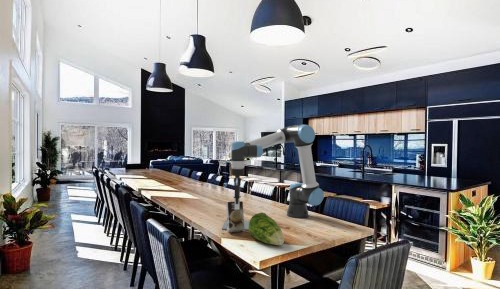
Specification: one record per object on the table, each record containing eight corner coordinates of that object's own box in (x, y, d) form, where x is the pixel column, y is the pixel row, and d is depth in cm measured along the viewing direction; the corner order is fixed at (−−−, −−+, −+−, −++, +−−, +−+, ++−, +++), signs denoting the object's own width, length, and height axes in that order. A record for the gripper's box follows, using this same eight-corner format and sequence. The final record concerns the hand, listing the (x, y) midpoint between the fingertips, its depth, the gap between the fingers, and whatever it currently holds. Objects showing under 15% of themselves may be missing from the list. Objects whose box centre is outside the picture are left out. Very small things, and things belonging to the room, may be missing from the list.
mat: (253, 222, 194) (253, 221, 194) (252, 230, 176) (252, 229, 176) (225, 221, 194) (225, 220, 194) (221, 229, 176) (221, 228, 176)
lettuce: (270, 258, 146) (271, 234, 142) (244, 236, 164) (244, 214, 161) (292, 249, 153) (293, 226, 150) (264, 228, 172) (265, 207, 169)
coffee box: (229, 230, 167) (227, 201, 174) (227, 231, 173) (225, 203, 179) (245, 229, 170) (242, 200, 176) (242, 230, 176) (240, 203, 182)
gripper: (232, 167, 178) (231, 206, 179) (229, 169, 165) (229, 211, 166) (244, 167, 178) (244, 206, 179) (243, 169, 165) (242, 212, 166)
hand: (237, 209), depth 172 cm, fingers closed
